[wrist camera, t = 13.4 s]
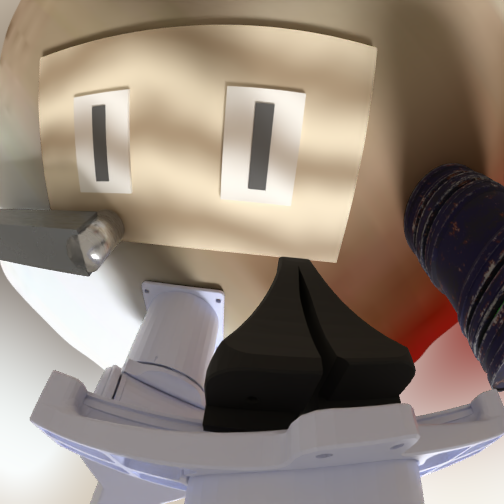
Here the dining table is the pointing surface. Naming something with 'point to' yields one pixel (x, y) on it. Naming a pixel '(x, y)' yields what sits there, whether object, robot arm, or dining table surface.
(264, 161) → the label board
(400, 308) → the dining table surface
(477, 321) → the storage jar
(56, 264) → the grey square pillar
